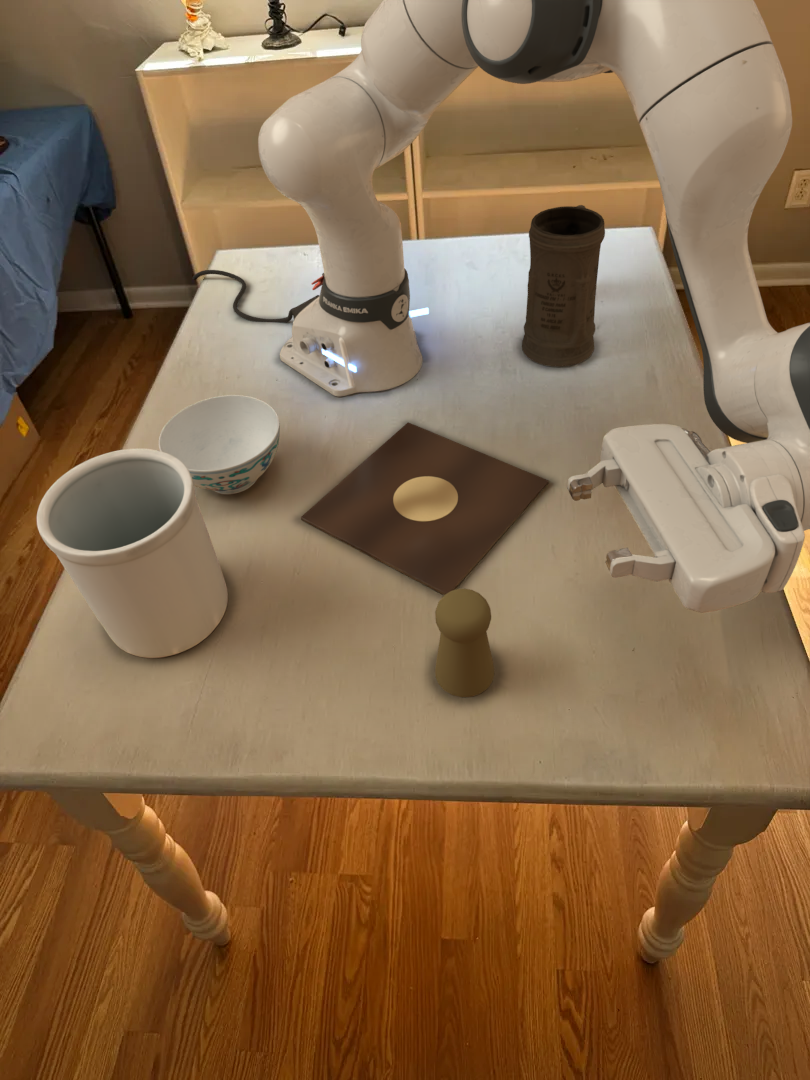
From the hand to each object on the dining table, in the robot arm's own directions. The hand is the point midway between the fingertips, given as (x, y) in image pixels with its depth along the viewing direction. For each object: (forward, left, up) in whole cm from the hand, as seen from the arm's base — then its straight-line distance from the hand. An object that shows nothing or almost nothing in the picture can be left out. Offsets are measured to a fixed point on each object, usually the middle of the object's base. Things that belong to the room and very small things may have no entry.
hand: (588, 525), depth 67 cm
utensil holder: (-39, -20, -18) cm, 48 cm away
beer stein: (-29, +50, -18) cm, 61 cm away
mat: (-25, +10, -18) cm, 33 cm away
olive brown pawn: (-7, -8, -18) cm, 22 cm away
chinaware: (-49, 0, -18) cm, 53 cm away
